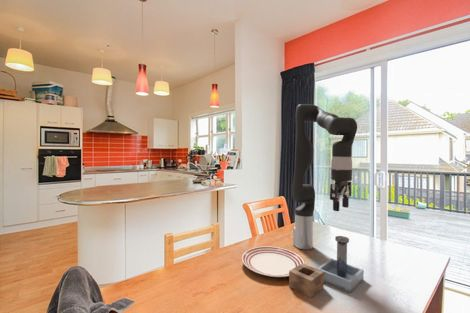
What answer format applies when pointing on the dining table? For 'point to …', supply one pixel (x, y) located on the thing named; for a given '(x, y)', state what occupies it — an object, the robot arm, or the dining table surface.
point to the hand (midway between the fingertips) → (340, 209)
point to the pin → (342, 255)
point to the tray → (346, 283)
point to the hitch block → (306, 280)
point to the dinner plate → (271, 261)
